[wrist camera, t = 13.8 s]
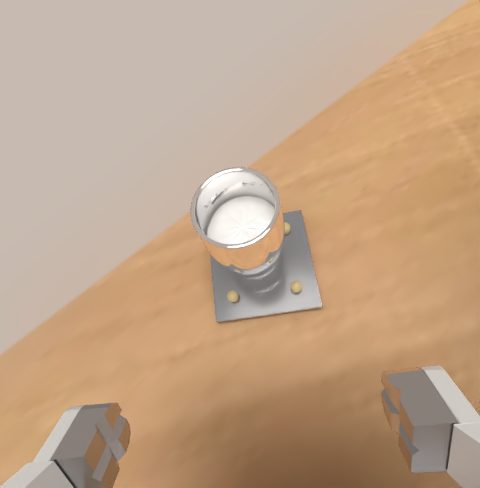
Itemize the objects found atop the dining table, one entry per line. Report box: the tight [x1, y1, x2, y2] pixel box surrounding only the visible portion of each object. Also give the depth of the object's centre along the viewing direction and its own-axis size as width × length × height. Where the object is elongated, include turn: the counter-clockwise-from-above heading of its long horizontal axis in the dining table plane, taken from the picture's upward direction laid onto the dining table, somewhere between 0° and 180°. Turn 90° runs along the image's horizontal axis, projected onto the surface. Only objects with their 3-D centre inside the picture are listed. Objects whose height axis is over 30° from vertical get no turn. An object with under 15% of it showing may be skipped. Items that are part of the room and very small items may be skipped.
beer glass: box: [190, 167, 285, 290], centre depth 27 cm, size 7×7×15 cm
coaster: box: [210, 210, 323, 323], centre depth 34 cm, size 12×12×2 cm
